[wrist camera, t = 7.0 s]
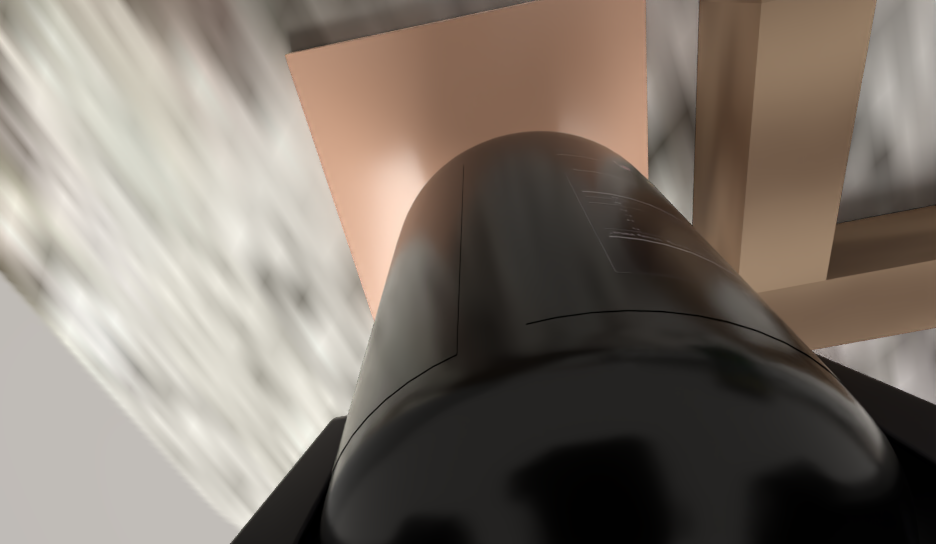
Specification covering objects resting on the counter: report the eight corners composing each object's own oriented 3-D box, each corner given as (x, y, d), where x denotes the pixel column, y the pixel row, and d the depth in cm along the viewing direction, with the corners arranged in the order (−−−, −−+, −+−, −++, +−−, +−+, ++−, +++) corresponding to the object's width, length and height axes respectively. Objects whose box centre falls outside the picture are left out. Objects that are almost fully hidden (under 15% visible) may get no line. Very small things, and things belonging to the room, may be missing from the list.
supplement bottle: (548, 391, 16) (692, 1208, 5) (354, 279, 14) (-32, 1195, 3) (723, 225, 13) (1802, 1277, 2) (507, 57, 11) (1098, 1429, 1)
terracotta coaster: (642, 281, 21) (649, 291, 20) (382, 330, 21) (380, 341, 21) (635, -21, 16) (645, -22, 15) (291, 52, 16) (284, 54, 15)
